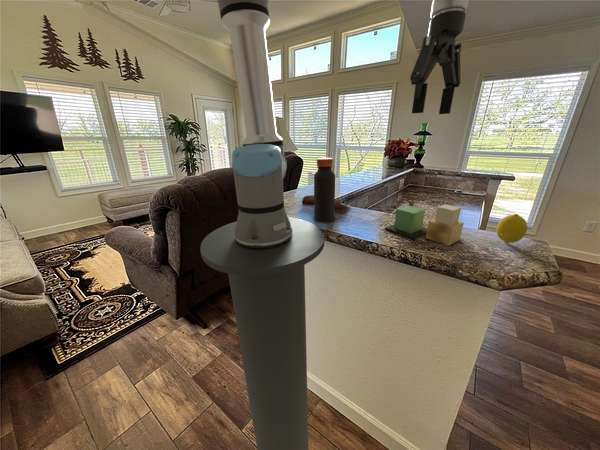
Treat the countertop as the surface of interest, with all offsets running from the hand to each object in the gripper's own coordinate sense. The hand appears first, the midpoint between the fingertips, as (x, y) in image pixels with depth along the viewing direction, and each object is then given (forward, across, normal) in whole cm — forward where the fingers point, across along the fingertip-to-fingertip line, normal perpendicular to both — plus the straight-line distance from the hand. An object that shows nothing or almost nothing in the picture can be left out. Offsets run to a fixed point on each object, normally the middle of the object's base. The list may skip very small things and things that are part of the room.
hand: (431, 113), depth 64 cm
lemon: (+32, +4, -23) cm, 40 cm away
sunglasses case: (+32, -12, +30) cm, 45 cm away
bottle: (+32, -21, +20) cm, 43 cm away
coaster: (+32, -8, -3) cm, 33 cm away
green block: (+31, -8, -3) cm, 32 cm away
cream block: (+27, -6, -12) cm, 30 cm away
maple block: (+32, -6, -12) cm, 34 cm away
